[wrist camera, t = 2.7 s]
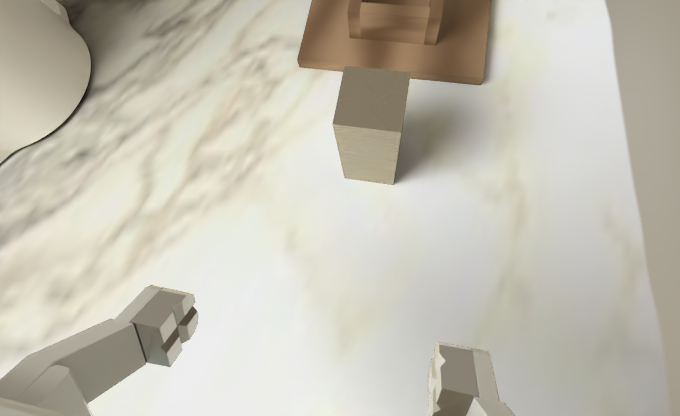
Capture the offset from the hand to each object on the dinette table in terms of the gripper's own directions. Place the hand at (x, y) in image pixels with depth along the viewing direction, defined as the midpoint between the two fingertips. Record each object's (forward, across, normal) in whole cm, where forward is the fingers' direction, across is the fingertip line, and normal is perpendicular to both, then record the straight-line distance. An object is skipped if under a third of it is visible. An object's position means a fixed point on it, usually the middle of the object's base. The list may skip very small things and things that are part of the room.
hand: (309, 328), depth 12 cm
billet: (+20, 0, +2) cm, 20 cm away
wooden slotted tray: (+33, 0, -11) cm, 34 cm away
